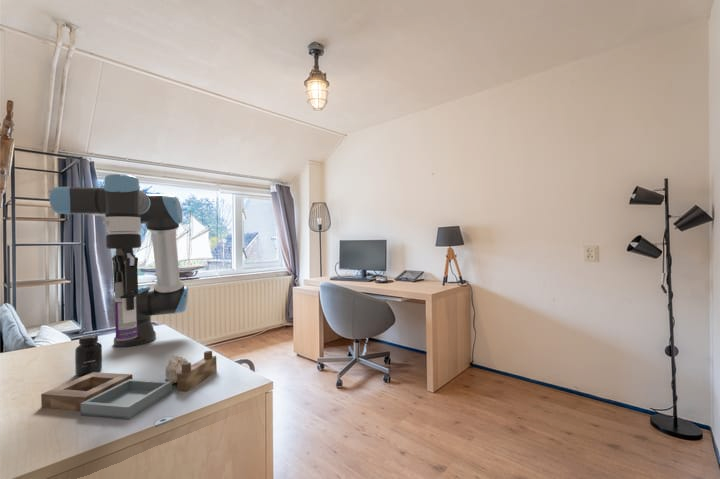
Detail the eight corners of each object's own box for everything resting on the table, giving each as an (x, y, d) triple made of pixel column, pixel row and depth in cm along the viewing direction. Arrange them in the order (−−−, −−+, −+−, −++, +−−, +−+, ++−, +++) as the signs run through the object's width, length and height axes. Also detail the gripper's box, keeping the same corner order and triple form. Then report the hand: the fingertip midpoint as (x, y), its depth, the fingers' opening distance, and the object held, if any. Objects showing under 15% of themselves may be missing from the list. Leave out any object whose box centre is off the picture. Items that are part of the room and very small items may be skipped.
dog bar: (208, 370, 107) (207, 349, 107) (216, 371, 107) (216, 349, 107) (177, 390, 93) (176, 366, 93) (186, 391, 93) (185, 366, 93)
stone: (193, 383, 106) (191, 352, 110) (195, 377, 97) (192, 343, 101) (166, 390, 102) (164, 357, 106) (165, 384, 93) (163, 349, 97)
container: (118, 337, 88) (116, 281, 88) (139, 334, 90) (137, 280, 90) (113, 341, 84) (111, 283, 84) (135, 339, 86) (133, 282, 85)
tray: (129, 389, 95) (129, 379, 95) (171, 392, 93) (171, 381, 93) (80, 415, 81) (80, 403, 81) (128, 419, 79) (128, 407, 79)
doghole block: (93, 383, 100) (93, 372, 100) (132, 385, 97) (132, 374, 97) (41, 407, 86) (41, 394, 86) (85, 410, 83) (85, 397, 83)
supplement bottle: (87, 377, 104) (85, 340, 104) (70, 376, 106) (68, 339, 106) (107, 368, 111) (106, 333, 111) (91, 367, 112) (90, 333, 112)
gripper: (98, 234, 89) (100, 318, 90) (115, 232, 78) (118, 329, 78) (130, 234, 95) (132, 313, 95) (151, 232, 84) (154, 322, 84)
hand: (126, 320), depth 87 cm, fingers closed on container, 5 cm apart
